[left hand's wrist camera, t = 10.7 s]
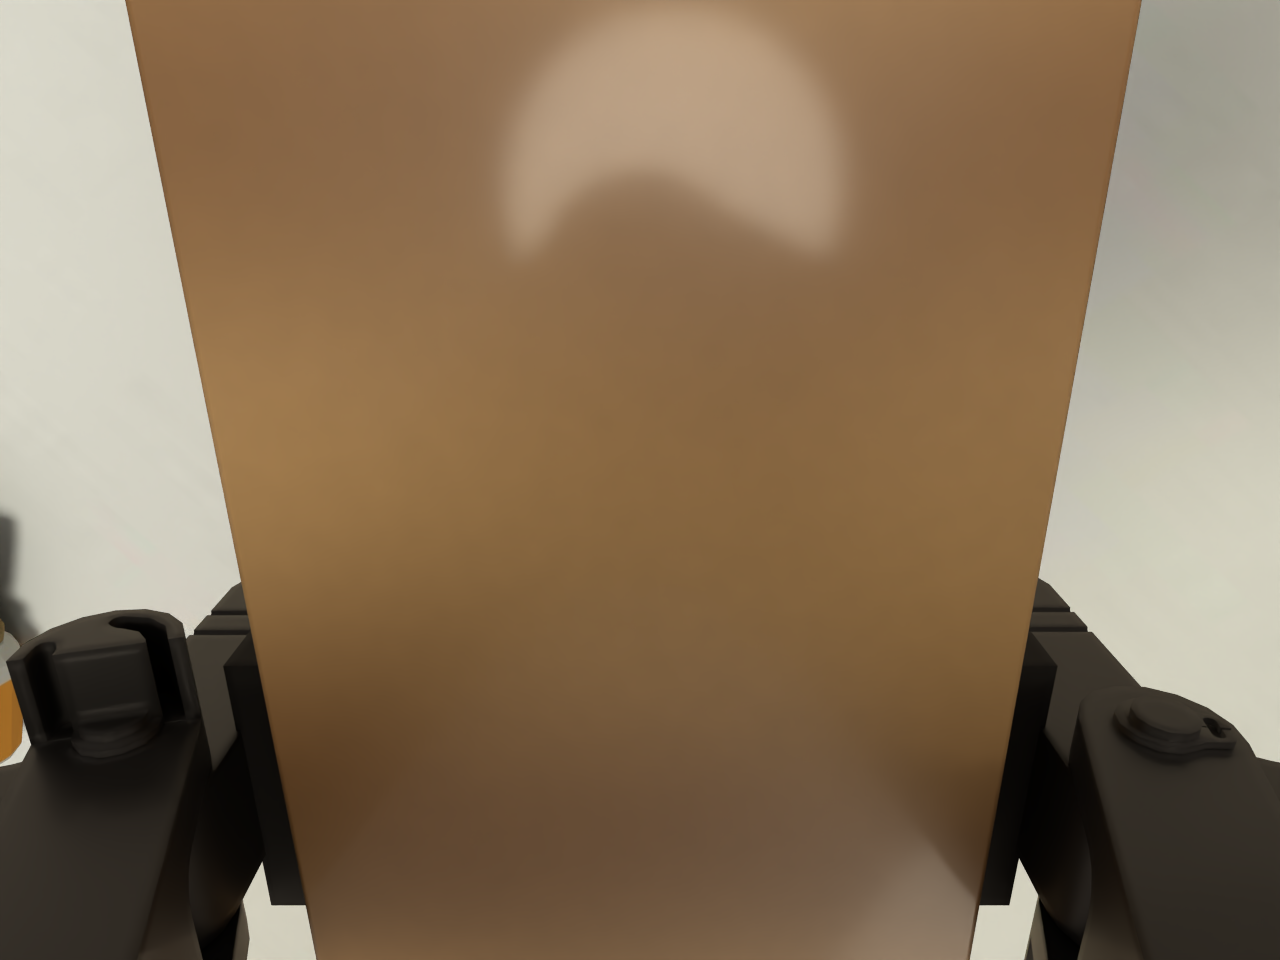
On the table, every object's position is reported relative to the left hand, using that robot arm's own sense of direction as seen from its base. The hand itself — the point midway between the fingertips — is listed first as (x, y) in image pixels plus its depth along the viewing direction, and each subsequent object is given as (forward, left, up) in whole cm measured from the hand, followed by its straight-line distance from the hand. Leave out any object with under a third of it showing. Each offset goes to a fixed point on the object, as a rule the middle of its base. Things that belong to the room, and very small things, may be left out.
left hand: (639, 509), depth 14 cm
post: (-3, +29, -1) cm, 29 cm away
